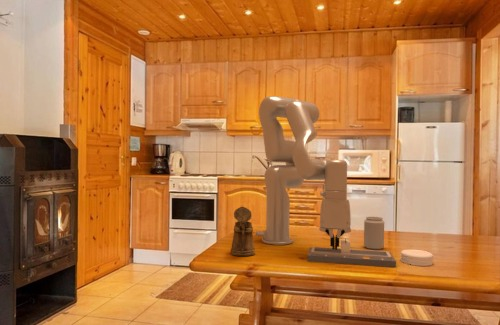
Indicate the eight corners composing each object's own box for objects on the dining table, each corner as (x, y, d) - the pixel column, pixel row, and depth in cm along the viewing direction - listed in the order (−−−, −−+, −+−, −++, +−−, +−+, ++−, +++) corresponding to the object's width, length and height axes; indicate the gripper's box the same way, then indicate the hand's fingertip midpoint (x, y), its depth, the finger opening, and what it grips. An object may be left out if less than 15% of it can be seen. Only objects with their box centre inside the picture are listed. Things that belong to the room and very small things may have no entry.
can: (385, 250, 144) (385, 219, 144) (364, 249, 145) (365, 218, 145) (382, 246, 151) (382, 216, 151) (362, 245, 153) (363, 215, 153)
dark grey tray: (307, 261, 127) (307, 252, 127) (309, 252, 139) (309, 245, 139) (396, 267, 121) (396, 258, 121) (390, 258, 133) (390, 250, 133)
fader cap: (341, 254, 128) (341, 241, 128) (340, 251, 132) (341, 239, 132) (350, 254, 128) (350, 241, 128) (349, 252, 132) (349, 239, 132)
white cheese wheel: (406, 257, 135) (406, 247, 135) (436, 262, 129) (436, 252, 129) (396, 263, 127) (396, 252, 127) (428, 268, 121) (428, 257, 121)
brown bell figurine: (227, 259, 127) (228, 206, 127) (231, 250, 141) (232, 201, 140) (254, 260, 127) (255, 206, 127) (255, 250, 140) (256, 202, 140)
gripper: (313, 195, 129) (312, 249, 129) (358, 197, 125) (357, 252, 125) (314, 194, 136) (313, 245, 136) (357, 195, 133) (356, 247, 133)
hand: (334, 248), depth 131 cm, fingers closed
